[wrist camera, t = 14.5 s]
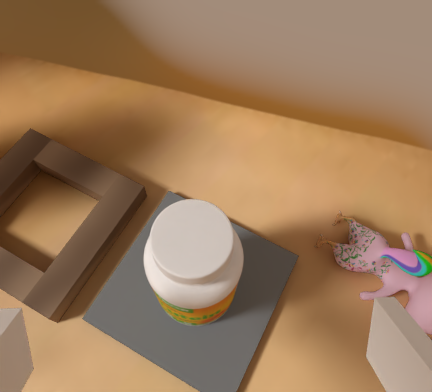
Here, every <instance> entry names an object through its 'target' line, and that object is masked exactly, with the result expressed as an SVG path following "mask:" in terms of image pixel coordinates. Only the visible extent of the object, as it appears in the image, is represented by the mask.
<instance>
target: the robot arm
mask: <svg viewBox="0 0 432 392" xmlns="http://www.w3.org/2000/svg"><path fill="white" fill-rule="evenodd" d="M366 358H367V359H368V361H369V363H370V365H371V366H372V368H373V370H374V371H375V373H376V375H377V377H378V378H379V380H380V382H381V383H382V385H383V387H384V389H385V390H386V392H432V340H431V339H430V338H429V336H428V335H427V334H426V333H425V332H424V331H423V329H422V328H421V327H420V326H419V325H418V324H417V322H416V321H415V320H414V319H413V318H412V317H411V315H410V314H409V313H408V312H407V311H406V310H405V309H404V307H403V306H402V305H401V304H400V303H399V302H398V300H397V299H396V298H395V297H375V298H374V305H373V312H372V319H371V326H370V333H369V339H368V346H367V353H366ZM33 369H34V367H33V362H32V357H31V352H30V347H29V342H28V337H27V332H26V327H25V322H24V317H23V312H22V308H7V309H0V392H21V391H22V389H23V387H24V385H25V383H26V382H27V380H28V378H29V376H30V374H31V373H32V371H33Z"/></svg>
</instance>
